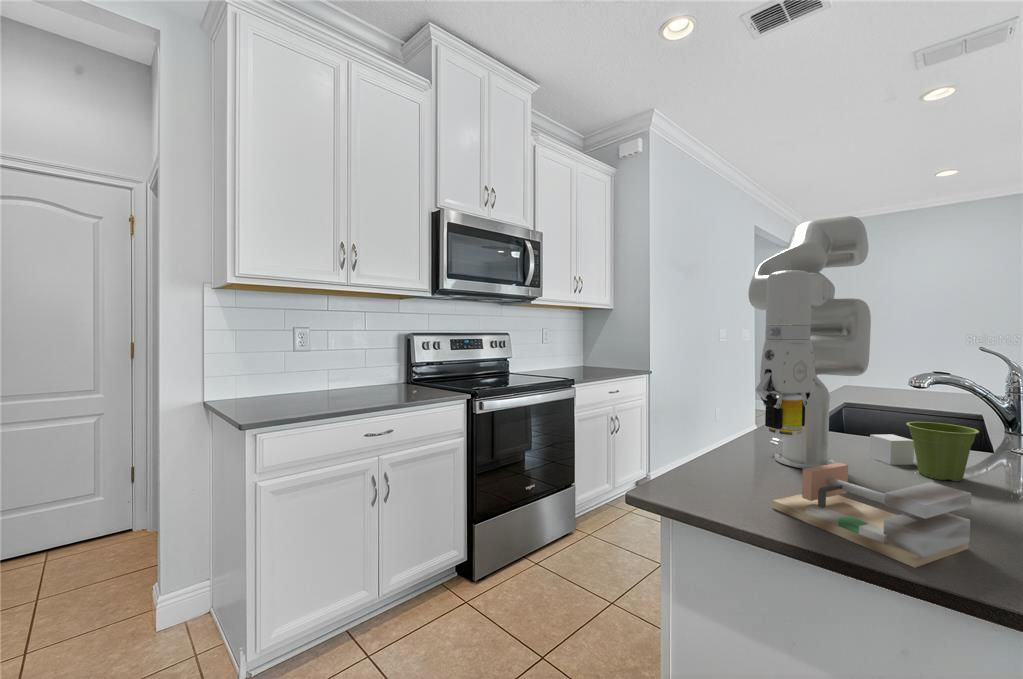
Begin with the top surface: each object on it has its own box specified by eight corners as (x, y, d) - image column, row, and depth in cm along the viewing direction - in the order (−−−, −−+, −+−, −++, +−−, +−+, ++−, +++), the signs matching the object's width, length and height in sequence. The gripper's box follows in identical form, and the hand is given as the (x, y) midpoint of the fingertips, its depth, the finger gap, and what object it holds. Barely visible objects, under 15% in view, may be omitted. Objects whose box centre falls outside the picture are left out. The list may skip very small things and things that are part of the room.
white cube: (869, 457, 116) (870, 434, 115) (891, 457, 116) (892, 434, 116) (890, 465, 110) (891, 440, 109) (913, 464, 110) (914, 440, 110)
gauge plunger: (798, 499, 80) (799, 469, 80) (838, 490, 84) (838, 462, 84) (895, 535, 67) (896, 500, 66) (937, 523, 71) (938, 489, 71)
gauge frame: (772, 508, 84) (773, 460, 84) (821, 497, 89) (823, 452, 89) (919, 569, 63) (921, 506, 63) (972, 550, 68) (975, 492, 68)
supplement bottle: (807, 437, 87) (809, 384, 87) (789, 440, 85) (791, 386, 85) (780, 431, 92) (781, 381, 92) (762, 433, 90) (763, 382, 90)
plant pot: (974, 475, 102) (976, 426, 101) (980, 490, 93) (982, 436, 93) (904, 464, 110) (906, 418, 109) (904, 477, 101) (906, 427, 100)
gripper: (774, 335, 81) (771, 434, 82) (835, 334, 88) (833, 426, 88) (739, 334, 88) (736, 425, 89) (798, 334, 95) (796, 419, 95)
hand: (784, 425), depth 89 cm, fingers closed on supplement bottle, 5 cm apart
